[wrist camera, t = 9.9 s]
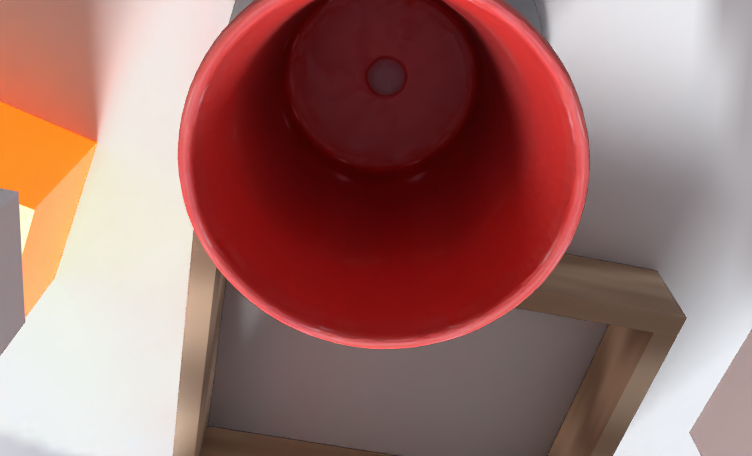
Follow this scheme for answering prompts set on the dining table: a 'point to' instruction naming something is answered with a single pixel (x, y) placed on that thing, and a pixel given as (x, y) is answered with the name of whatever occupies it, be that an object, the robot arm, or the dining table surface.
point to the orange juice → (42, 190)
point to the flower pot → (383, 164)
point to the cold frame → (554, 296)
